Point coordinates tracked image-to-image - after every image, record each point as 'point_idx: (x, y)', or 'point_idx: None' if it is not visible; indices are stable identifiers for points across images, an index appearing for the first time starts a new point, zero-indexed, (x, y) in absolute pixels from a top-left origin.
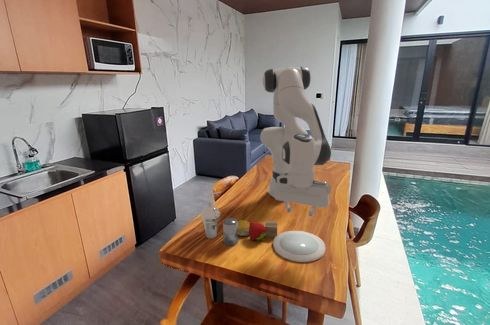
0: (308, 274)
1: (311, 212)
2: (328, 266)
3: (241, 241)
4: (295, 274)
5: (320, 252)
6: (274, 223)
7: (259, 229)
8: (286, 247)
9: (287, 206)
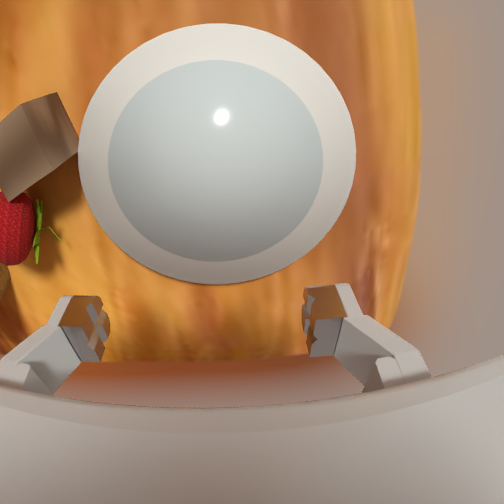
0: (299, 310)
1: (335, 352)
2: (364, 247)
3: None
4: (259, 325)
5: (335, 198)
6: (19, 136)
7: (15, 258)
8: (171, 234)
9: (66, 377)
